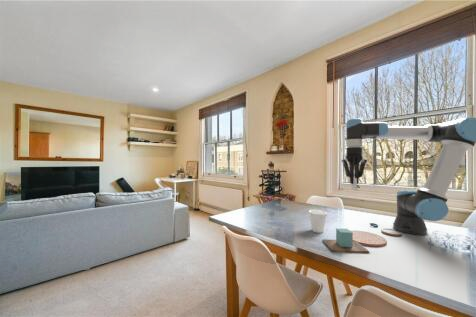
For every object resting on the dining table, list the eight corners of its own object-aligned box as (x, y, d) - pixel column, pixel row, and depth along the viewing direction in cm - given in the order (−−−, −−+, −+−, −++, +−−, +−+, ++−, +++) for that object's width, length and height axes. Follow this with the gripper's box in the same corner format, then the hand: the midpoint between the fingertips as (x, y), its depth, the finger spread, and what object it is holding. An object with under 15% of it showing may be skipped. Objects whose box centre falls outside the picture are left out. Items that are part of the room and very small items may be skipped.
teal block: (347, 242, 98) (347, 228, 98) (352, 247, 92) (352, 232, 92) (336, 242, 98) (336, 228, 98) (340, 246, 93) (340, 232, 93)
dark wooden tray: (355, 242, 100) (355, 227, 100) (369, 253, 89) (369, 237, 89) (322, 240, 102) (322, 227, 102) (331, 251, 90) (331, 236, 90)
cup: (329, 235, 110) (329, 214, 110) (309, 233, 112) (309, 213, 112) (324, 228, 119) (325, 210, 119) (307, 227, 121) (307, 209, 121)
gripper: (362, 147, 115) (362, 188, 115) (339, 147, 116) (339, 188, 116) (370, 146, 108) (370, 190, 108) (345, 146, 109) (345, 190, 109)
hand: (354, 189), depth 112 cm, fingers closed
